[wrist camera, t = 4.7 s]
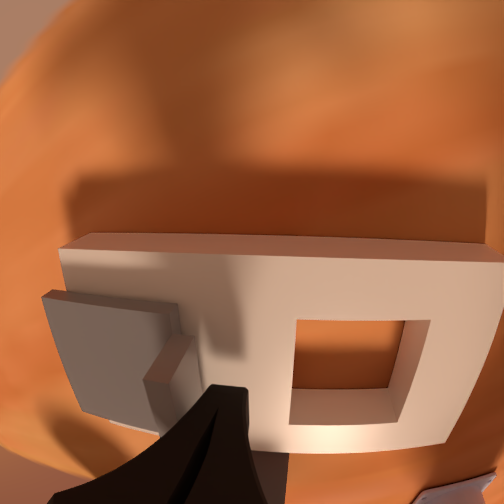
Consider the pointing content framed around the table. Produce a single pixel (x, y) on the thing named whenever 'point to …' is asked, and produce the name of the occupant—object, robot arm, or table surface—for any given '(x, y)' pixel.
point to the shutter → (125, 358)
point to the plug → (272, 474)
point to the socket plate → (313, 308)
